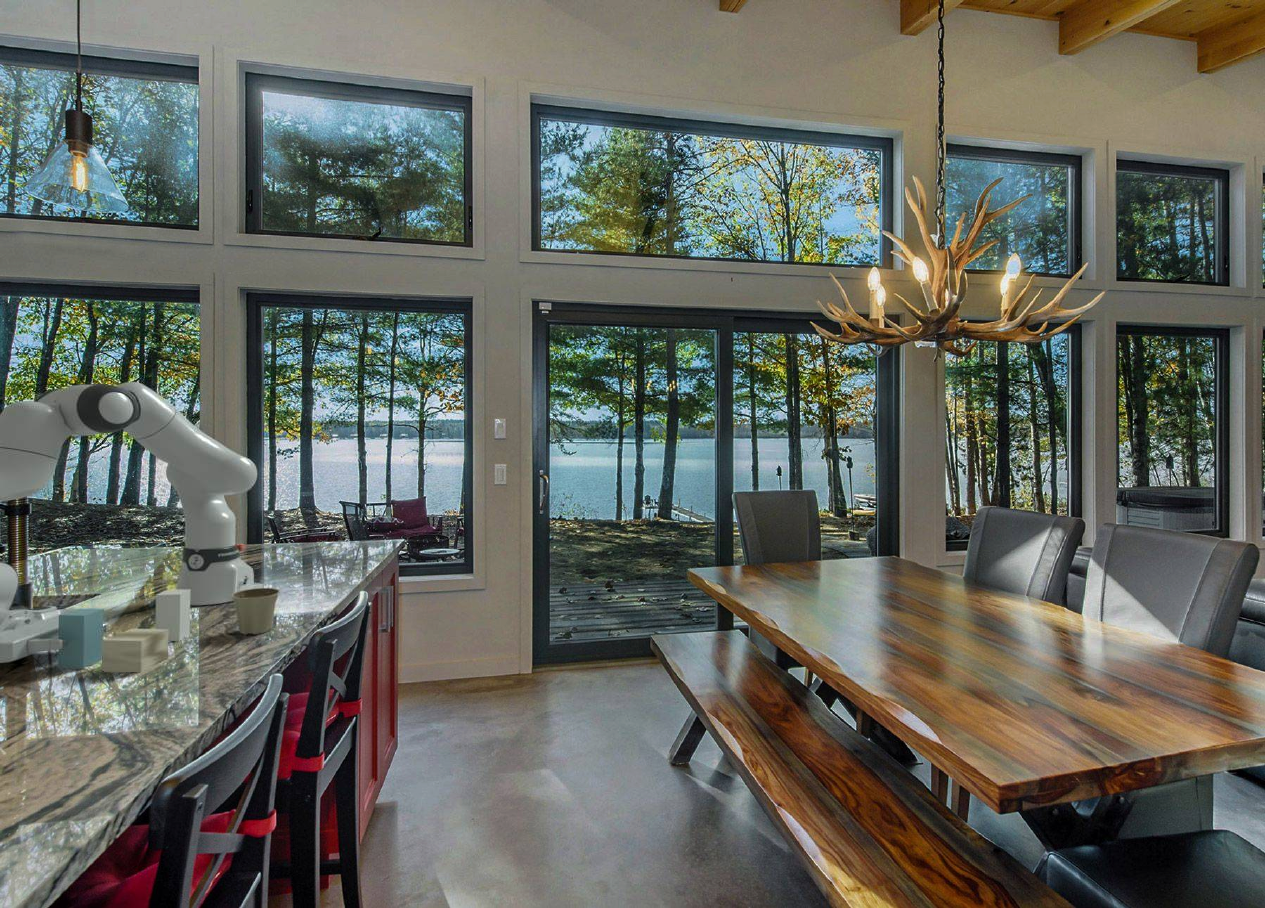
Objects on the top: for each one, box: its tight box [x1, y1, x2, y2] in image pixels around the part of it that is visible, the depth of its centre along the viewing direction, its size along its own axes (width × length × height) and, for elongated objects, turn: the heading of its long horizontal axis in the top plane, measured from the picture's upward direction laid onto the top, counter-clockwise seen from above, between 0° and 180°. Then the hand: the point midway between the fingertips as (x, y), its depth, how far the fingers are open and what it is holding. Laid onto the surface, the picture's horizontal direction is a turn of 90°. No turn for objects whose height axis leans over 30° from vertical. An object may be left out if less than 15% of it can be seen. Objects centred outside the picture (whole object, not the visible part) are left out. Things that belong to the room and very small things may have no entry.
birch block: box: [101, 628, 169, 673], centre depth 117 cm, size 7×7×6 cm
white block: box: [154, 589, 191, 642], centre depth 133 cm, size 4×4×10 cm
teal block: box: [57, 608, 105, 670], centre depth 117 cm, size 4×4×10 cm
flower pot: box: [231, 587, 281, 635], centre depth 140 cm, size 9×9×9 cm
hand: (85, 635), depth 117 cm, fingers open, 8 cm apart
